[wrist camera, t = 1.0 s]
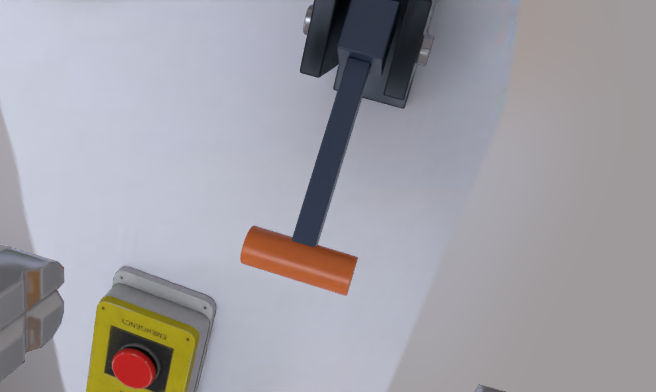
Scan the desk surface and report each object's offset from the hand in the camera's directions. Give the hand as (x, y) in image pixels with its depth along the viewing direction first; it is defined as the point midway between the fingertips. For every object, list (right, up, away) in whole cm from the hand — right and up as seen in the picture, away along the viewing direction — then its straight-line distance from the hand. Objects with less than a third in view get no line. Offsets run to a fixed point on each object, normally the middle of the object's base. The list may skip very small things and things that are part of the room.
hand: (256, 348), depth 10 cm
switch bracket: (+5, +14, +25) cm, 30 cm away
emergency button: (-14, -11, +39) cm, 43 cm away
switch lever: (+2, +5, +16) cm, 17 cm away
